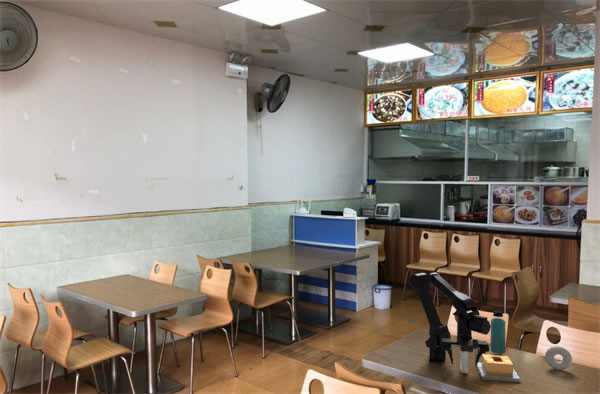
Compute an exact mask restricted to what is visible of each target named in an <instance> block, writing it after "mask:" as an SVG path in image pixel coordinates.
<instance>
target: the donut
mask: <svg viewBox="0 0 600 394" xmlns="http://www.w3.org/2000/svg"><path fill="white" fill-rule="evenodd" d="M544 355H545V356H544V359H545V362H546V363H547V365H548V366H549V367H550V368H552V369H553V370H556V371H565V370H567V369H568V368H570V367H571V365H572V363H573V357H572V354H571V352H570V351H569V350H568V349H566V348H565V347H563V346H559V345H554V346H550V347H549V348H548V349H546V351H545V353H544ZM556 355H559V356H560V357H562V360H560V361H557V360H556V359H555V356H556Z"/></svg>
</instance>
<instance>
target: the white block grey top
mask: <svg viewBox="0 0 600 394" xmlns="http://www.w3.org/2000/svg"><path fill="white" fill-rule="evenodd" d="M459 350H460V349H459ZM459 355H460V356H459V371H460V372H461V374H468V373H469V372H468V371H469V370H468V369H469V367H468V366H469V352H466V351H465V352H462V351H461V350H460V353H459Z"/></svg>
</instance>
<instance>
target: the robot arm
mask: <svg viewBox="0 0 600 394" xmlns="http://www.w3.org/2000/svg"><path fill="white" fill-rule="evenodd" d="M408 281H409V284H410V286H411V287H412V290H413V291H414V292H415V293H417V295H418V298H419V299H420V302H421V305H422V307H423V310H424V313H425V315H426V318H427V322H428V324H429V330H428V333H429V334H428V335H429V337H428V339H427V340H426V341H424V343H425V348H428V362H430V363H435V364H436V363H439V364H445V363H446V359H447V357H446V356H447V354H448V356H449V359H450V362H451V365H452V366H453V365H454V359H453V356H454V355H453V349H452V347H455V348H456V347H459V350H461V351H462V352H465V351H466V352H468V353H473V352H474V350H475V353H474V366H475V367H476V366H477V363H478V362H479V360H480V358H482V354H486V353H488V352H490V344H489V343H488V342H487V340H479V339H475V338H473V337H472V336H473V334H472V332H475V333H477V334H481V335H485V336H486V335H488V334H490V331H491V321H489V320H488V316H482V315H481V313H480V312H479V310H478V308H477V305H476V304H475V301H474V299H473V298H472V297H470V296H469V295H468V294H465V293H463V292H460V291H458V290H456V288H454V286H452V285H451V284H450V283H448V282H447V281H446V280H445V279H444V278H443V277H442V276H441V275H440V273H438V272H436V271H435V272H430V273H425V272H419V273H413V274H411V275H410V277H409V280H408ZM431 284H432V285H433V286H434V287H436V289H438V290H439V292H441V293H442V294H443V295H444V296H445V297H446V298H447V299H448V300H449V301H450V303H451V305H452V307H453V308H454V309H455V311H454V312H452V315H453V316H456V319H457V320H456V321H457V322H456V341H451V334H452V333H451V332H450V329H449V326H448V325H447V324H445V325H444V324H443V323H442V322H441V320H440V317H439V314H438V311H437V308H436V306H435V303H434V301H433V297H432V295H431V293H430V288H431Z"/></svg>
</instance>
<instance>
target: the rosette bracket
mask: <svg viewBox="0 0 600 394" xmlns="http://www.w3.org/2000/svg"><path fill="white" fill-rule="evenodd" d="M475 367H476V369H477V371H478V372H479V375H480V377H481V380H484V381H498V382H499V381H500V382H508V383H510V382H511V383H521V378H520V376H519V375H518V373H517V372H516V370H515V368H514V364H513V362H512V361H511V359H510V357H509V356H508V355H501V354H496V353H491V354H486V353H483V354H482V355H481V362H479V361H478V363H477V366H475Z"/></svg>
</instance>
